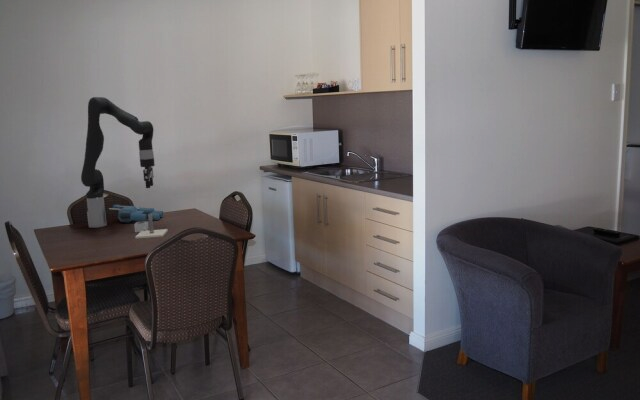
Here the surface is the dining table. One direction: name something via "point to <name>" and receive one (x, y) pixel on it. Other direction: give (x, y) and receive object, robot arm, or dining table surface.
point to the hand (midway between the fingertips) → (149, 187)
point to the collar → (141, 226)
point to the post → (151, 231)
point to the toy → (136, 213)
